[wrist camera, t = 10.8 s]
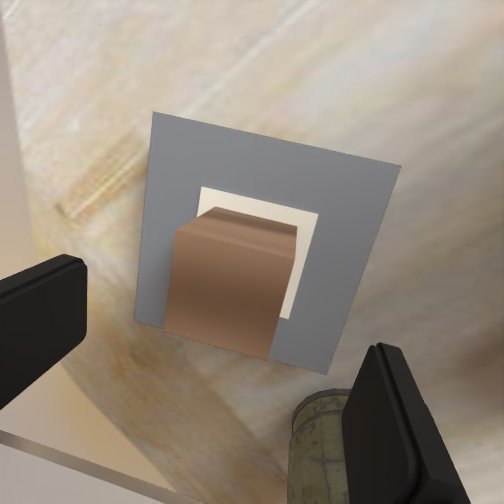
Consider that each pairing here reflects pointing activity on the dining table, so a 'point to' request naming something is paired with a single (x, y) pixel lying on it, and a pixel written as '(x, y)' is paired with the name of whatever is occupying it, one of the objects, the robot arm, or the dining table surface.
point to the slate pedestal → (269, 207)
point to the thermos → (318, 451)
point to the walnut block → (230, 280)
